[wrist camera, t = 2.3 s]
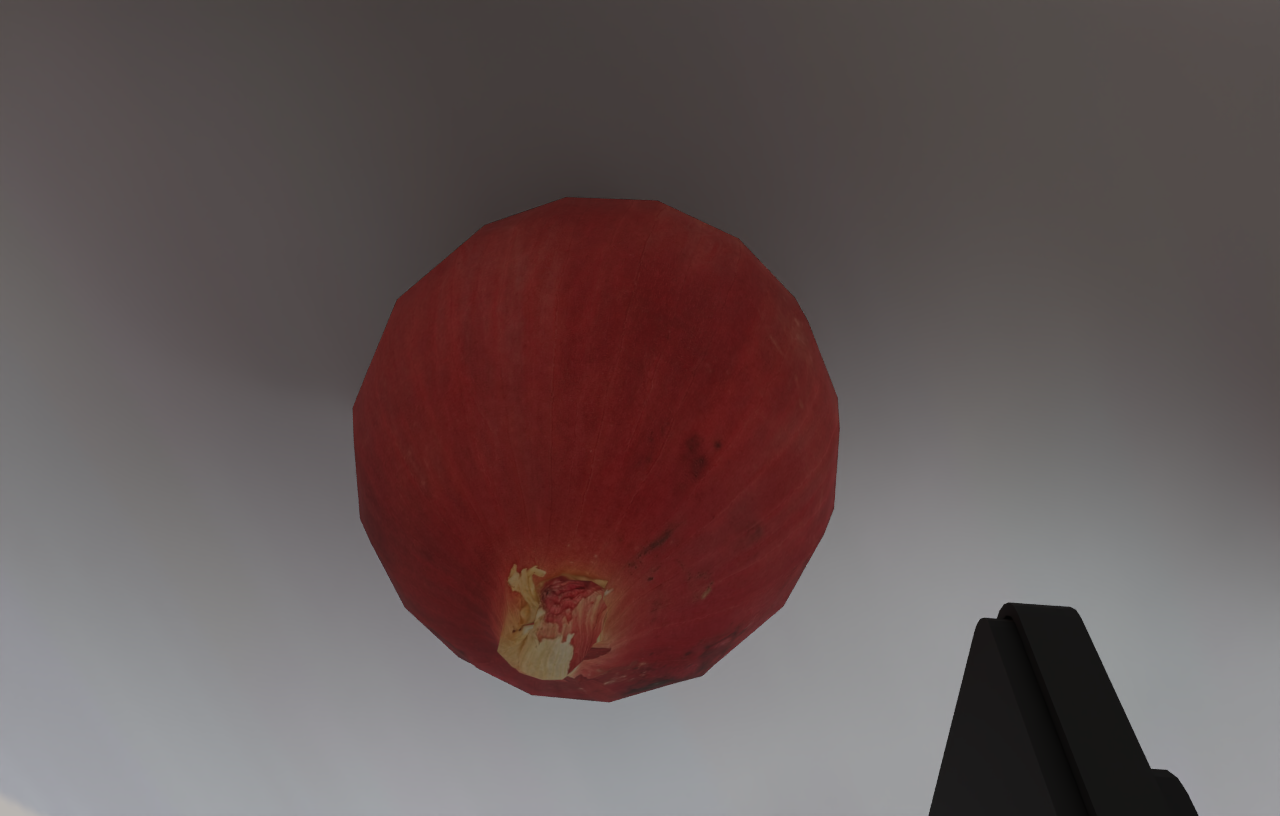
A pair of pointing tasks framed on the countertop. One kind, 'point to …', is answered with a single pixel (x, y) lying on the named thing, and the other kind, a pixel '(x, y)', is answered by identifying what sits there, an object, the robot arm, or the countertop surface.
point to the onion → (596, 447)
